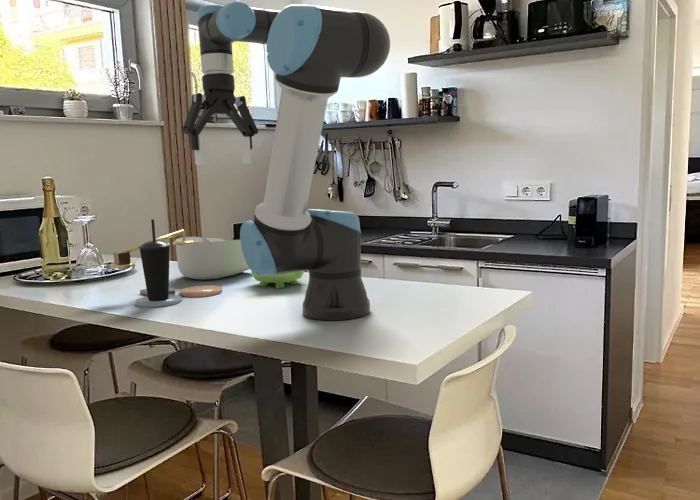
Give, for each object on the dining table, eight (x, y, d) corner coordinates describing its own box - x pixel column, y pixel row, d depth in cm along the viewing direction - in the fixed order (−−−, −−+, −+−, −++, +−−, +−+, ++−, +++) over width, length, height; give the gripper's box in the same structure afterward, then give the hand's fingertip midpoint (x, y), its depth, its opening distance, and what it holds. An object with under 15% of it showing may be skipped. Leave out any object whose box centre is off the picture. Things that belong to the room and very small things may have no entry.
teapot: (245, 291, 167) (242, 244, 165) (248, 280, 181) (245, 237, 179) (305, 288, 168) (303, 241, 166) (304, 278, 182) (302, 235, 180)
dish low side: (189, 301, 156) (189, 298, 156) (148, 309, 148) (147, 306, 148) (169, 295, 164) (168, 292, 164) (128, 302, 156) (128, 299, 156)
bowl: (164, 279, 188) (161, 240, 186) (211, 268, 203) (209, 232, 202) (211, 285, 177) (208, 243, 175) (257, 273, 192) (255, 235, 191)
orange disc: (230, 291, 166) (230, 288, 166) (193, 299, 159) (192, 296, 158) (208, 286, 174) (208, 283, 174) (172, 293, 167) (172, 290, 166)
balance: (204, 288, 171) (200, 229, 169) (120, 304, 156) (114, 238, 153) (190, 284, 177) (186, 227, 175) (107, 299, 161) (102, 236, 159)
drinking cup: (165, 303, 151) (159, 221, 149) (136, 302, 153) (130, 221, 150) (179, 296, 159) (174, 217, 156) (152, 295, 160) (146, 218, 158)
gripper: (250, 80, 161) (255, 163, 164) (162, 72, 143) (170, 165, 146) (268, 76, 156) (273, 162, 158) (179, 67, 138) (187, 164, 141)
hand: (224, 164), depth 152 cm, fingers open, 13 cm apart
